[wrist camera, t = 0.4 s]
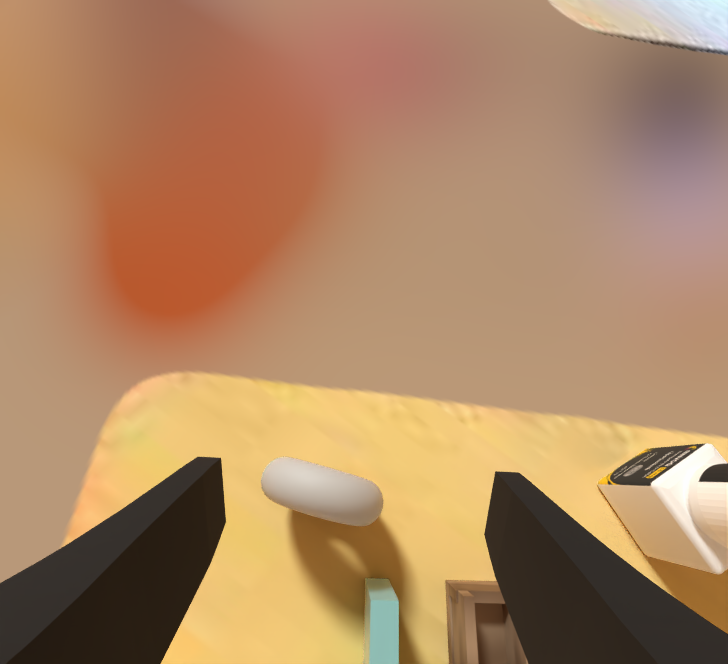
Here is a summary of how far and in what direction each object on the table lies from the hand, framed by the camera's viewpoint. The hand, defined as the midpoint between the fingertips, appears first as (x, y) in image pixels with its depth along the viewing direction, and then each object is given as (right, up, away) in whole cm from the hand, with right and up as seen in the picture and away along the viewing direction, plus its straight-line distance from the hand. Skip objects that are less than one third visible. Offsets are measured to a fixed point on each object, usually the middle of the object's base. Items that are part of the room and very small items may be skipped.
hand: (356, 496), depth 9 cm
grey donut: (-3, -10, +24) cm, 27 cm away
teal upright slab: (+1, -21, +20) cm, 29 cm away
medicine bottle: (+27, -12, +25) cm, 39 cm away
